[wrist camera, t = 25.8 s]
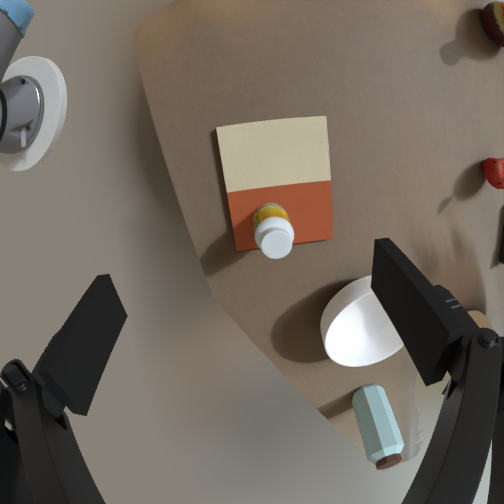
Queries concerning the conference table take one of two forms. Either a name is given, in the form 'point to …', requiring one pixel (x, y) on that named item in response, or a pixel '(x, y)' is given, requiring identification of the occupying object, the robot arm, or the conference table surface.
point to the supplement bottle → (273, 230)
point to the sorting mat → (278, 175)
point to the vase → (494, 21)
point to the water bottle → (377, 426)
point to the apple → (494, 171)
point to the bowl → (358, 327)
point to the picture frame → (502, 249)
